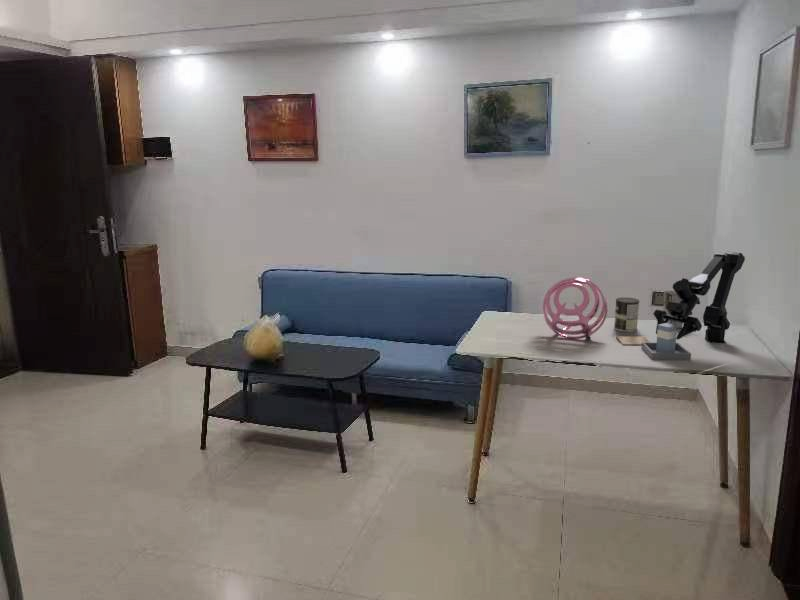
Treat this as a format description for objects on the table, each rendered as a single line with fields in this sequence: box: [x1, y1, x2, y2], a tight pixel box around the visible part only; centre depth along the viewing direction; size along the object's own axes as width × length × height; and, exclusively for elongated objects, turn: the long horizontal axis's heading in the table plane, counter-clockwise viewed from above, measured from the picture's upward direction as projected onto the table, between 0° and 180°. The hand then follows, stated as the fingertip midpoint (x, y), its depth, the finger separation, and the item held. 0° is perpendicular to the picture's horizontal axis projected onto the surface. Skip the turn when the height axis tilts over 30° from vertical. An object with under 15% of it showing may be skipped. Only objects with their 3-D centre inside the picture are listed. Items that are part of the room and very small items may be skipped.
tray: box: [641, 341, 692, 361], centre depth 236 cm, size 15×15×3 cm
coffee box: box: [662, 290, 684, 329], centre depth 277 cm, size 9×6×16 cm
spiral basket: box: [542, 277, 608, 340], centre depth 263 cm, size 28×28×27 cm
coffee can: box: [613, 297, 640, 333], centre depth 273 cm, size 10×10×14 cm
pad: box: [615, 335, 650, 347], centre depth 253 cm, size 12×12×1 cm
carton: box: [656, 323, 678, 353], centre depth 235 cm, size 5×5×12 cm
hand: (666, 336), depth 234 cm, fingers open, 9 cm apart
